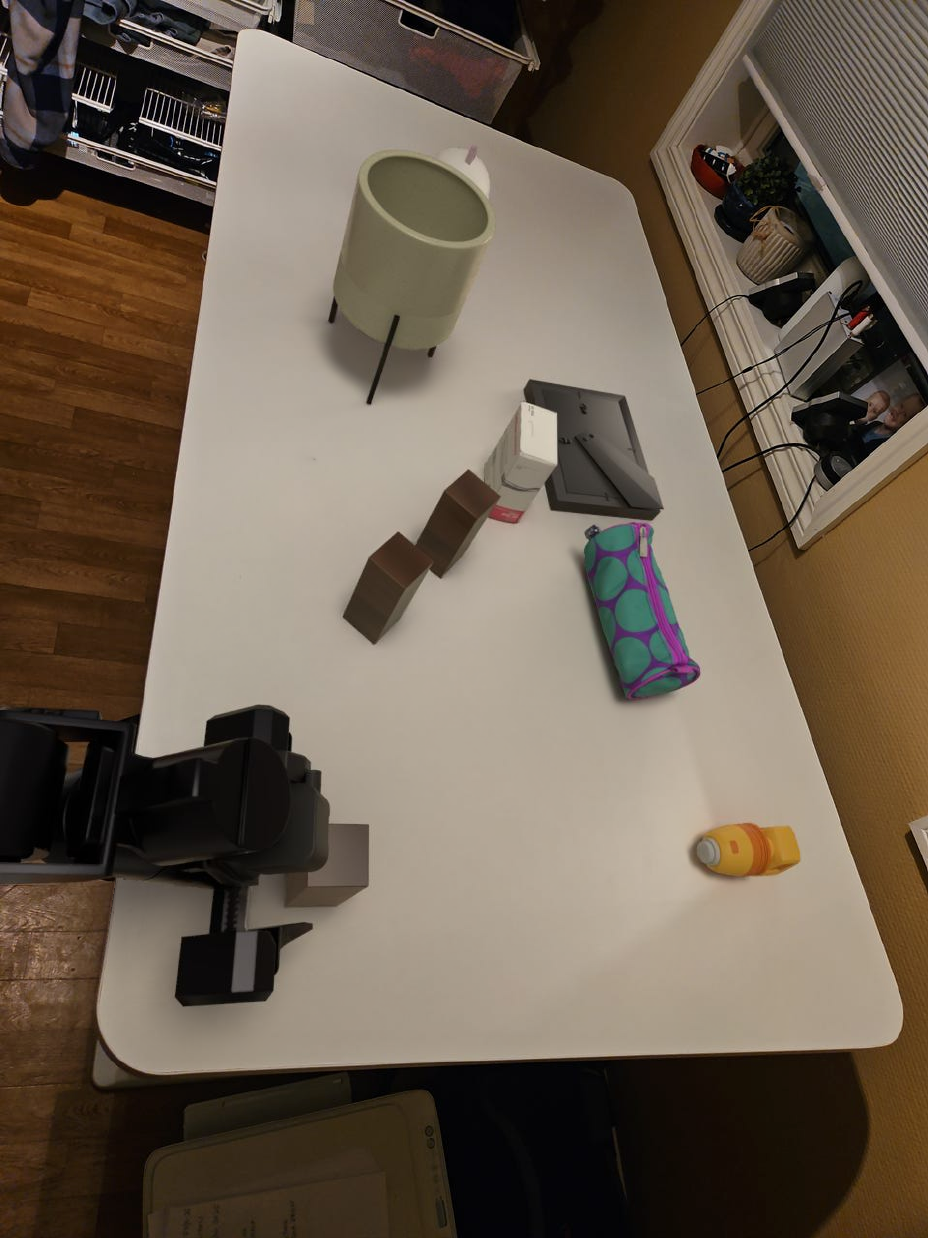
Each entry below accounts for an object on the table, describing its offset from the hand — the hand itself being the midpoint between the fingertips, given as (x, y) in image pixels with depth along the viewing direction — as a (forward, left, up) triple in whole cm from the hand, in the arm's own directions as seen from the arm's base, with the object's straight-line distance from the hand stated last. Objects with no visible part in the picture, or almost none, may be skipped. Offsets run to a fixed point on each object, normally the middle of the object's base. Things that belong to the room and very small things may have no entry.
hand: (310, 861), depth 55 cm
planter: (+40, +51, -9) cm, 66 cm away
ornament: (+68, +75, -9) cm, 102 cm away
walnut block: (+20, +19, -9) cm, 29 cm away
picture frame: (+61, +28, -9) cm, 68 cm away
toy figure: (+41, -23, -9) cm, 48 cm away
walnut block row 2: (+31, +23, -9) cm, 40 cm away
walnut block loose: (+1, -1, -9) cm, 9 cm away
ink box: (+44, +27, -9) cm, 53 cm away
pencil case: (+47, +5, -9) cm, 48 cm away
